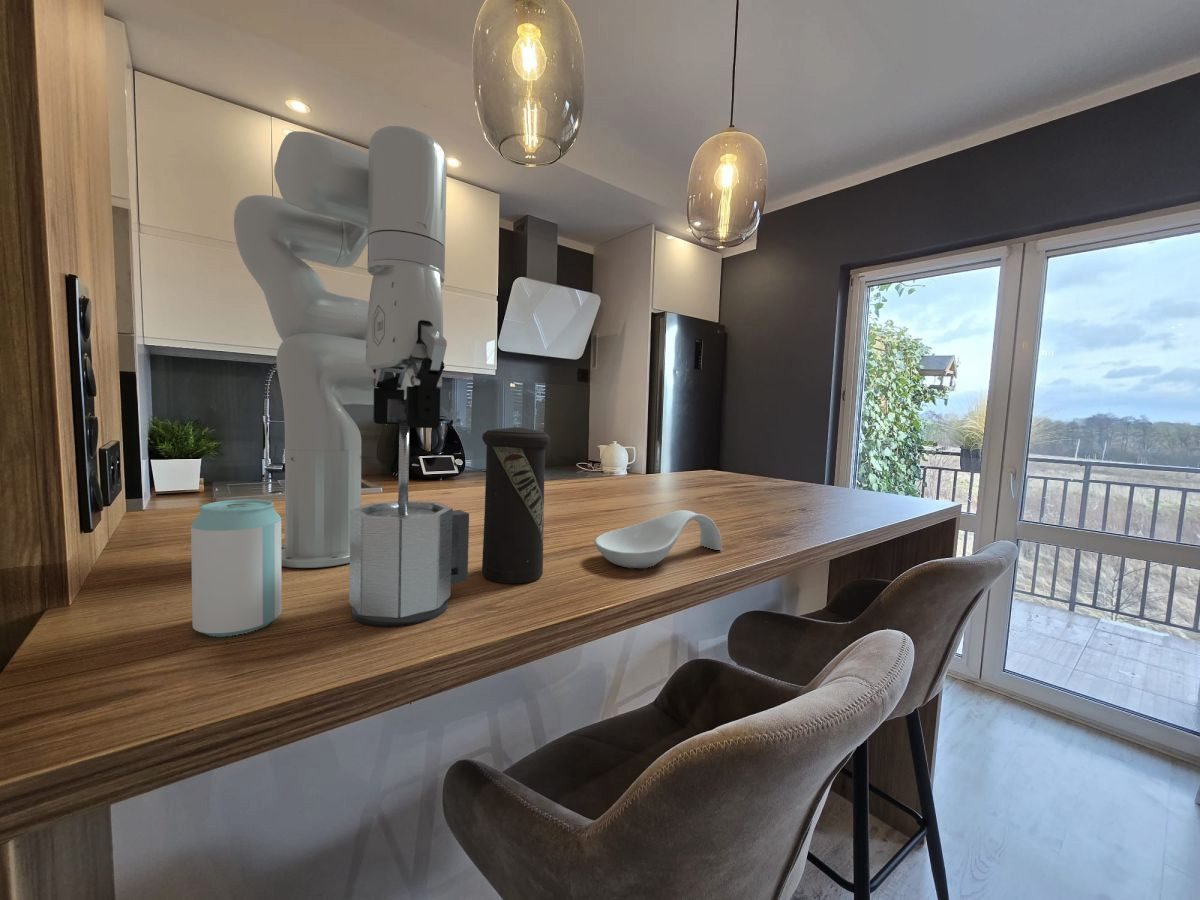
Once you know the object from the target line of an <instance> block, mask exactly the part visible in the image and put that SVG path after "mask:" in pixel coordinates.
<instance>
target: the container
mask: <svg viewBox="0 0 1200 900" xmlns="http://www.w3.org/2000/svg"><path fill="white" fill-rule="evenodd" d="M481 438H482V441H483V443H484V444H485V445H486V452H485V453H486V455H485V456H486V459H485V465H486V467H485V486H484V487H485V489H484V490H485V491H484V517H483V542H482V558H481V559H482V560H481V561H482V562H481V565H482V567H481V569H482V570H481V571H482V575H483V577H484V578H486V579H487V580H488V581H492V582H496V583H500V584H501V583H502V584H503V583H504V584H523V583H525V584H526V583H530V582H535V581H536V580H538V579H540V578H541V577H542V575H543V574H544V573H543V569H544V568H543V567H544V527H545V525H544V524H545V523H544V522H545V521H544V520H545V472H546V471H545V469H546V462H545V461H546V447H548V445H549V444H550V442H551V437H550V436H549V434H547V432H545V431H542V430H536V429H529V428H525V427H503V428H502V427H501V428H497V429H487V430H486V431H485V432H484V433H483V434H482V436H481Z"/></svg>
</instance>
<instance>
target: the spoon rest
mask: <svg viewBox="0 0 1200 900" xmlns="http://www.w3.org/2000/svg"><path fill="white" fill-rule="evenodd" d="M691 521H696V522H697V523H698V524H699V527H700V529H699V530H700V539H699V540H700V541H699V545H700V546H701V545H702V546H701V547H703V546H704V547H703V548H705V547H707V548H706V549H708V548H710V549H709V550H711V549H714V550H722V551H723V541H722V536H721V533H720V530H719V528H718V527H717V525H716V523H715V522H714V521H713V519H712V518H710V517H709V516H708V515H705V514H702V513H695V511H691V510H684V509H682V510H681V509H680V510H676V511H672V512H669V513H665V514H662V515H661V516H657V517H654V518H652V519H649V520H646V521H643V522H640V523H635V524H634V525H633V524H632V525H630V526H629V525H628V526H626V527H623V528H618V529H614V530H610V531H607V532H604V533H601V534H600V535H598V536H597V537H595V540H594V544H595V547H596V549H597V550H598V552H599V554H600V555H602V557H604V558H605V559H606V560H607V561H609V562H610V563H611V564H615V565H617V566H618V567H619V566H620V567H622V568H626V567H627V568H626V569H633V568H644V569H649V568H648V567H650V568H652V567H651V566H653V567H654V565H655V566H656V565H657V564H658V563H660V562H661V561H663V559H665V558H666V557H667V555H668V554H670V552H671V550H672V549H673V547H674V546H675V544H676V542H677V541H678V539H679V537H680V535H681V533H682V531H683V529H684V528H685V527H686V526H687V524H689V522H691ZM714 550H713V551H714Z"/></svg>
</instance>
